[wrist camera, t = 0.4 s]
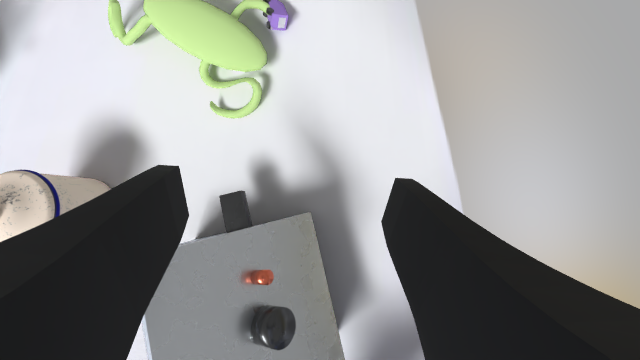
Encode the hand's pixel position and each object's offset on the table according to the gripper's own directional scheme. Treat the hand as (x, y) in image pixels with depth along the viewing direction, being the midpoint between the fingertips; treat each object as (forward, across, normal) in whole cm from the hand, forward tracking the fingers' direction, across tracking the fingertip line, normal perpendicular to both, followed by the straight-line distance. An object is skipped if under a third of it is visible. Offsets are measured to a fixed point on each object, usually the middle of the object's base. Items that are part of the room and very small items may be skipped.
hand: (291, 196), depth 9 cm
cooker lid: (+5, +2, +18) cm, 19 cm away
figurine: (+39, +13, -1) cm, 41 cm away
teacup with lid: (+23, +27, +23) cm, 42 cm away
